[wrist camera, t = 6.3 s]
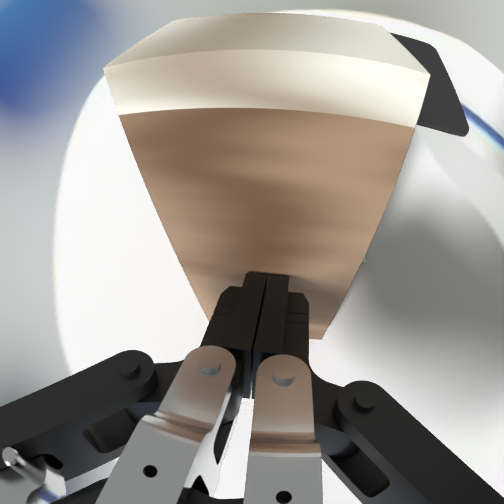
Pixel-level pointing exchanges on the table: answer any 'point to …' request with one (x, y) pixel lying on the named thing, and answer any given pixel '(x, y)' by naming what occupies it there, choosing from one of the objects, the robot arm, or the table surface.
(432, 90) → the phone
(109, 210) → the table surface
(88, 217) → the table surface
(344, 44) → the walnut block
